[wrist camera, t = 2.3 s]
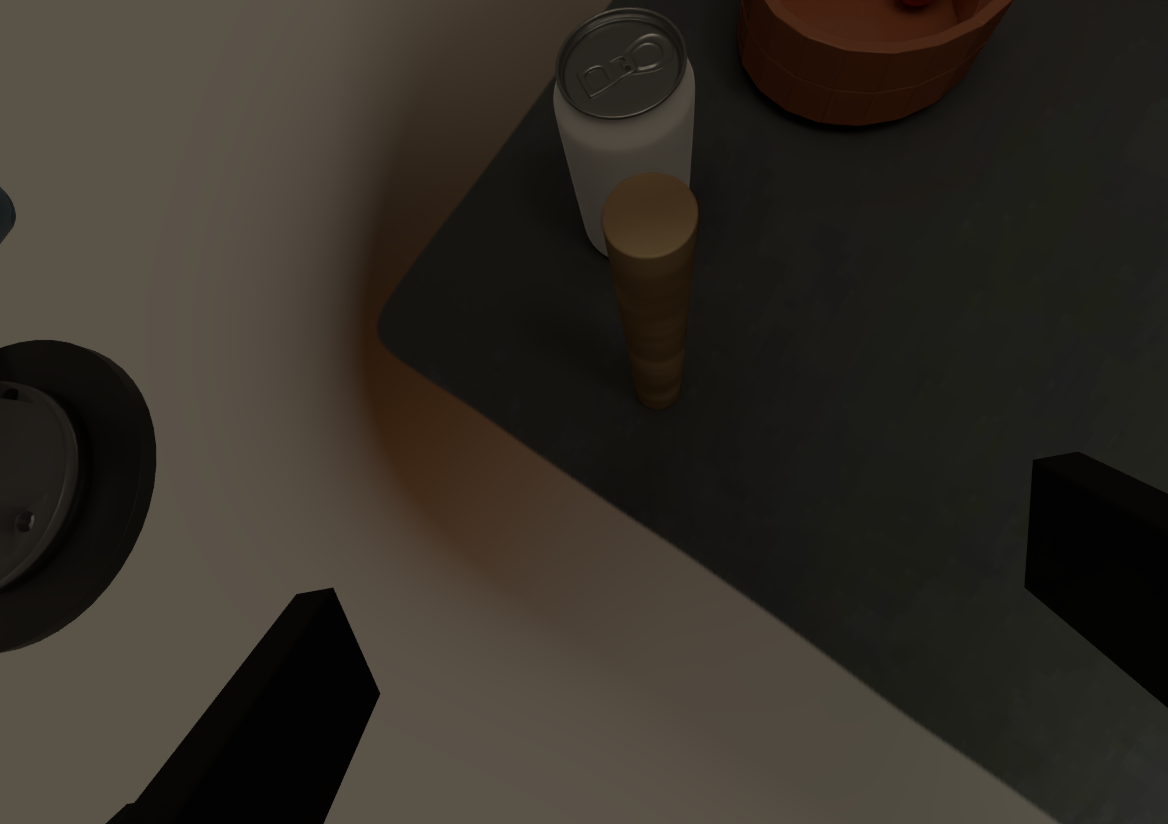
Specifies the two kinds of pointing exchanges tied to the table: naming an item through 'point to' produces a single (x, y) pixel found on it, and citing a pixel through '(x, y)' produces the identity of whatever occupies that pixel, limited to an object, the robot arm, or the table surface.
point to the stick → (652, 277)
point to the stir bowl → (861, 53)
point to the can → (623, 105)
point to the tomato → (917, 2)
